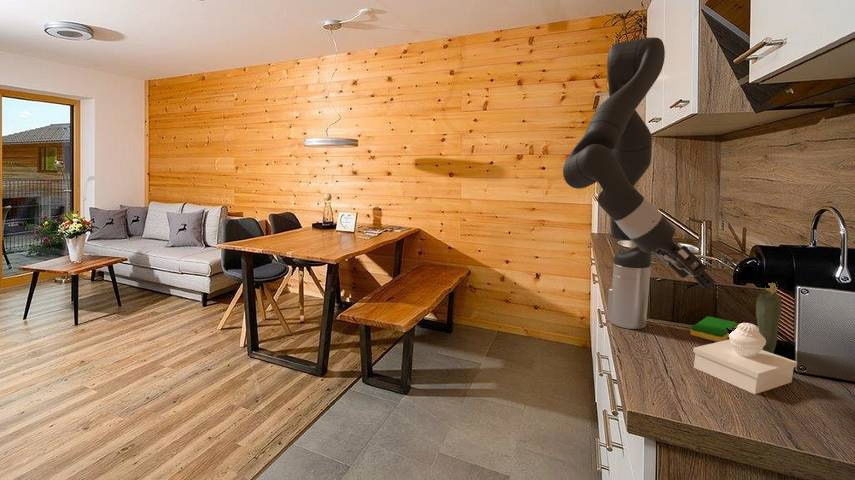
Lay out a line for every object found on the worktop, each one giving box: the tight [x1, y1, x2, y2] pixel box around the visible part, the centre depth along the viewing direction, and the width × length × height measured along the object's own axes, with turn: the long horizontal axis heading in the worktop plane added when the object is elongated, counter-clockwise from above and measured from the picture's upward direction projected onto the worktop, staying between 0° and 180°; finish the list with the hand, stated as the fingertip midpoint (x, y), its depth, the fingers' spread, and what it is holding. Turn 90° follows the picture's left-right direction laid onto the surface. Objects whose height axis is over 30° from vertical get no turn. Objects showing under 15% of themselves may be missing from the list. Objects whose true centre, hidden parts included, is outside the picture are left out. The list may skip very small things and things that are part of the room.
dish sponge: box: [690, 316, 739, 342], centre depth 108 cm, size 7×14×2 cm, turn 130°
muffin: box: [728, 322, 766, 358], centre depth 84 cm, size 6×6×7 cm
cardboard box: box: [692, 339, 798, 395], centre depth 85 cm, size 13×13×5 cm
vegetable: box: [755, 282, 783, 354], centre depth 90 cm, size 4×4×20 cm
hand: (697, 280), depth 82 cm, fingers open, 8 cm apart
